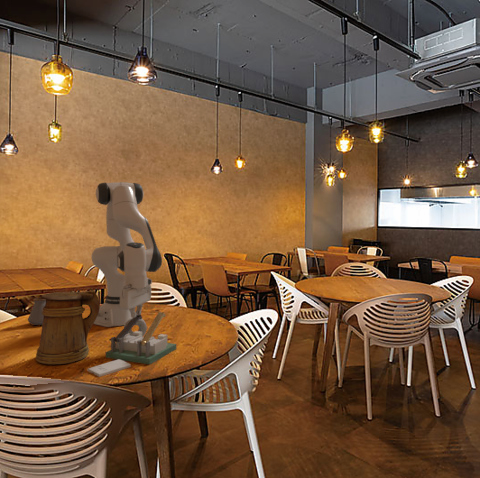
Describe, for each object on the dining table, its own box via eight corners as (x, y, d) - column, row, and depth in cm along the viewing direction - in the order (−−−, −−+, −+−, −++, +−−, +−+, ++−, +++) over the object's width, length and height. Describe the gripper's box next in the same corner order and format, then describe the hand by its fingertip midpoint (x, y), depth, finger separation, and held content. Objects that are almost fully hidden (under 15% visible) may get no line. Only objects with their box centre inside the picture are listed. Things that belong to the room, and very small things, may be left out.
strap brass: (141, 346, 153) (139, 343, 152) (160, 314, 165) (158, 311, 164) (146, 347, 152) (144, 344, 151) (165, 315, 164) (163, 311, 163)
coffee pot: (30, 328, 197) (29, 297, 196) (26, 323, 206) (25, 293, 206) (76, 321, 210) (75, 292, 209) (70, 317, 219) (70, 289, 218)
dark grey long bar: (114, 343, 158) (113, 339, 157) (137, 317, 171) (136, 313, 170) (119, 344, 157) (118, 340, 156) (142, 318, 170) (140, 314, 169)
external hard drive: (131, 368, 147) (99, 378, 138) (118, 363, 153) (87, 372, 144) (131, 364, 147) (99, 373, 138) (118, 358, 153) (87, 367, 143)
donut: (124, 342, 176) (124, 319, 175) (123, 340, 179) (122, 317, 178) (147, 339, 180) (147, 317, 180) (145, 337, 183) (145, 315, 183)
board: (105, 357, 157) (105, 338, 157) (135, 343, 175) (135, 325, 174) (149, 364, 150) (149, 344, 149) (176, 348, 167) (176, 330, 167)
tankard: (31, 355, 159) (29, 292, 157) (92, 344, 173) (91, 285, 171) (41, 369, 144) (40, 299, 143) (107, 356, 159) (106, 292, 157)
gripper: (129, 287, 156) (130, 323, 157) (153, 279, 176) (154, 311, 176) (115, 286, 157) (115, 321, 158) (140, 278, 177) (140, 310, 178)
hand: (136, 316), depth 167 cm, fingers open, 2 cm apart
